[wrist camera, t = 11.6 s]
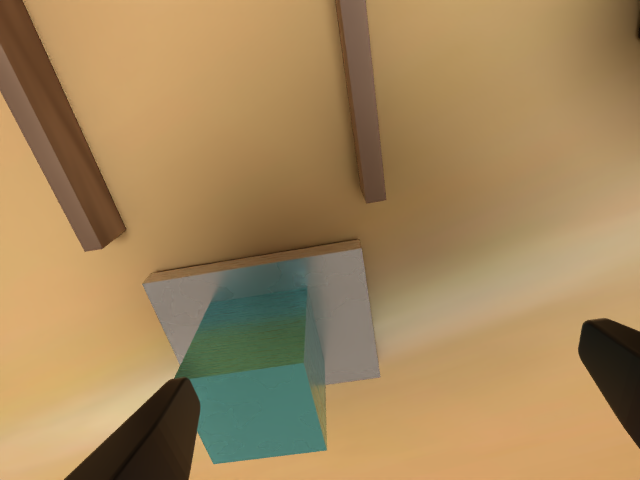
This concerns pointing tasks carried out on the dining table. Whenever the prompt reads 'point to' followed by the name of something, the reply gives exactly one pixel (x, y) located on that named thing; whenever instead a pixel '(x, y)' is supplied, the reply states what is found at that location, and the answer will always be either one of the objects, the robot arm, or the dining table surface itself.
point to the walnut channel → (75, 156)
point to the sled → (268, 344)
